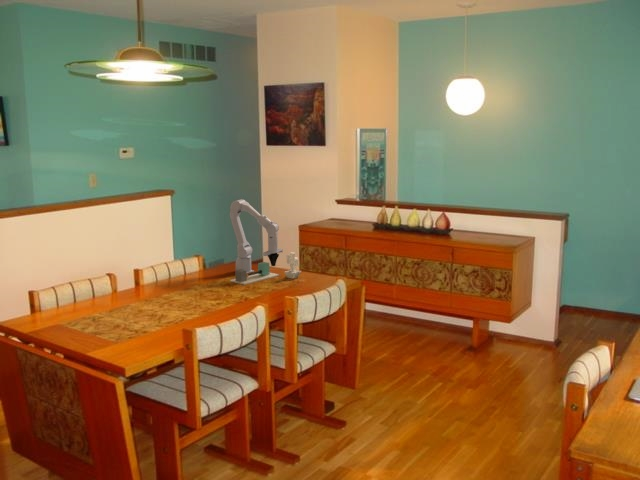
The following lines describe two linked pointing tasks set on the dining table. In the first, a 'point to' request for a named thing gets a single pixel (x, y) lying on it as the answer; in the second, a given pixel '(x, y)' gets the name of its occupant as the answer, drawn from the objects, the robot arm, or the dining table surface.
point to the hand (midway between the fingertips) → (273, 265)
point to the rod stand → (250, 277)
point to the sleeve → (263, 268)
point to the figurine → (292, 266)
